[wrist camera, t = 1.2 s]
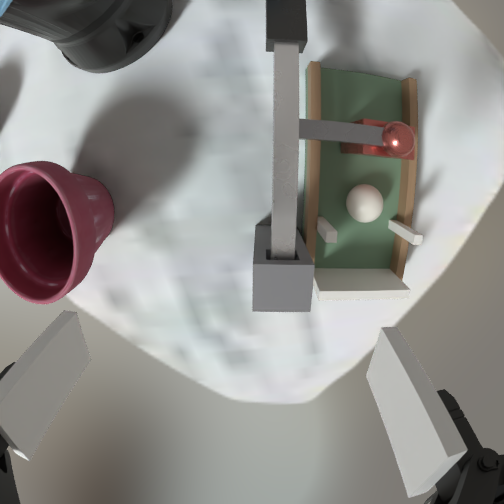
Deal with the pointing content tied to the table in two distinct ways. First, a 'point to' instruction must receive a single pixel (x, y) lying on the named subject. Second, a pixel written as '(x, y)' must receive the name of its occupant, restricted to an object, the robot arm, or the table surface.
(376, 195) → the ball
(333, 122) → the slider
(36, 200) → the plant pot
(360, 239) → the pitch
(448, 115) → the table surface
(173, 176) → the table surface
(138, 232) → the table surface
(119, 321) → the table surface
